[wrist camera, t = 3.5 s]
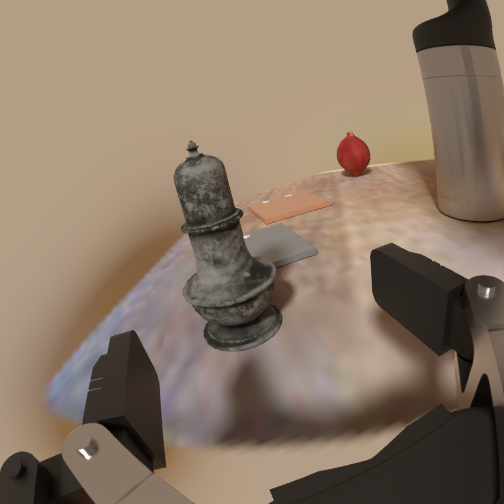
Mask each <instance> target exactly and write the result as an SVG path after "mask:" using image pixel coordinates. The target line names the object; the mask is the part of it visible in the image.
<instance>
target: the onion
mask: <svg viewBox="0 0 504 504" xmlns="http://www.w3.org/2000/svg"><path fill="white" fill-rule="evenodd" d="M337 159H338V162H339V164H340V165H341V166H342V167H343V168H344V169H345V170H346V171H348V172H350V173H351V174H352V175H354V176H359V175H360V174H361V173H362V172H363V171H364V170H365V169H366V167H367V166H368V164H369V161H370V152H369V149H368V147H367V145H366V144H365V143H364V142H363V141H362V140H361V139H359V138H358V137H356V136H355V135H354V134H353V133H352V131H349V132H347V136H346V138H344V139H343V141H341V143H340V145H339V147H338V149H337Z"/></svg>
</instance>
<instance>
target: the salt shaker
mask: <svg viewBox="0 0 504 504" xmlns="http://www.w3.org/2000/svg"><path fill="white" fill-rule="evenodd" d="M198 147H199V146H196V144H195V143H193V142H192V141H189V144H188V149H186V150H188V151H189V152H190V156H189V157H187V158H186V161H184V162H183V163H182V164H180V165H179V166H178V168H177V169H176V170H175V173H174V183H175V186H176V189H177V193H178V197H179V200H180V203H181V207H182V210H183V213H184V217H185V220H186V222H185V224H183V226H182V228H181V230H182V232H183V233H186V234H188V235H189V238H190V241H191V244H192V248H193V251H194V254H195V257H196V262H197V273H196V274H194V275H193V276H192V277H191V278H190V279H189V280H188V281H187V282H186V284H185V286H184V288H183V296H184V298H185V299H186V301H187V302H189V303H191V304H192V305H193V307H194V309H195V310H196V311H197V312H198V313H199V314H200V315H201V316H202V317H203V318H204V319H205V320H207V321H208V323H207V324H206V326H205V329H204V338H205V340H206V341H207V343H208V344H209V345H210V346H212V347H213V348H215V349H218V350H221V351H232V352H233V351H242V350H246V349H250V348H253V347H256V346H258V345H260V344H262V343H264V342H266V341H267V340H269V339H270V338H271V337H273V336H274V335H275V333H276V332H277V331H278V330H279V328H280V326H281V323H282V315H281V313H280V311H279V309H277V308H276V307H275V306H274V305H271V304H269V303H270V301H271V299H272V294H273V289H274V281H273V280H274V279H275V277H276V267H275V266H274V264H273V263H272V262H270V261H269V260H267V259H264V258H260V257H252V256H251V254H250V253H249V251H248V249H247V247H246V244H245V240H244V236H243V232H242V229H241V225H240V221H239V220H240V218H241V217H242V216H243V211H242V210H241V209H238V208H235V206H234V202H233V199H232V195H231V191H230V187H229V183H228V179H227V175H226V171H225V167H224V165H223V163H222V161H220V160H219V159H218V158H216V157H213V156H206V155H204V154H202V153H198V151H197V148H198Z"/></svg>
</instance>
